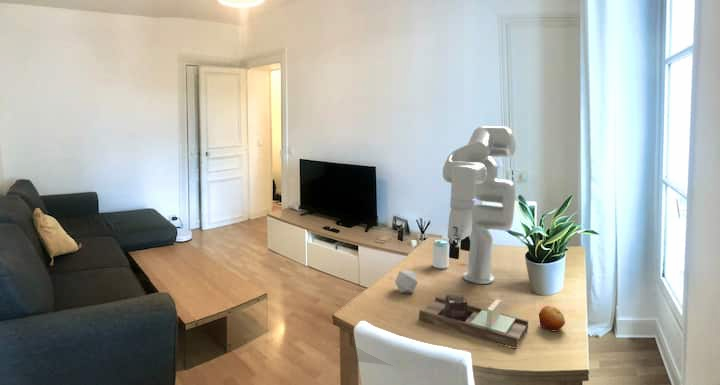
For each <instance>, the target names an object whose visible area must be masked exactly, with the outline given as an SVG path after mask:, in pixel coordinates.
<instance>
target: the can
mask: <svg viewBox="0 0 720 385" xmlns="http://www.w3.org/2000/svg"><path fill="white" fill-rule="evenodd" d="M432 246H433V248H432V250H433V251H432V266H433V267H434V268H436V269H437V270H438V269H440V270H443V269H447V268H448V267H449V265H450V264H449V261H450V258H449V240H446V239H442V238H440V239H436V240H434V243H433V245H432Z"/></svg>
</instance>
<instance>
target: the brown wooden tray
mask: <svg viewBox="0 0 720 385" xmlns="http://www.w3.org/2000/svg"><path fill="white" fill-rule="evenodd" d="M445 303H446V298H443V297H440V296H435V300H433V301H432V302H431V303H430V304H429V305H427V306H426V307H425V308H424V309H420V310H419V314H418V321H420V322H424V323H428V324H430V325H434V326H437V327H439V328H444V329H447V330H450V331H454V332H457V333H461V334H464V335H467V336H471V337H475V338H478V339H481V340H484V341H487V342H490V341H491V343H494V342H495V344H497V343H499V344H498V345H500V344H503V345H502V346H504V345H507V346H511V347H515V348H516V347H517V345H518V344H519V345H520V343H521V342H520V341H522V340H523V338H524V337H523V336H525V335H526V333H527V332H526V331H528V330H527V329H528V328H529V320H527V319H524V318H520V317H516V316H512V315H508V314H504V313H501V312H500V315H504V316H508V317H511V318H515V322H514V323H513V325H512V326H511V328H510V329H509V331H508V332H507V333H506V334H505V333H501V332H498V331H494V330H491V329H487V328H484V327H480V326H477V325H473V324H470V323H471V322H472V321H473V319H474V318H475V317H476V316H477V315H478V314H479V313H480V312H481V311H482V310H485V311H487V309H485V308H481V307H478V306H473V305H470V304H467V320H466V321H465V322H462V321H459V320H455V319H452V318H448V317H446V316H445ZM524 334H525V335H524ZM521 339H522V340H521ZM519 342H520V343H519ZM519 345H518V346H519ZM507 346H506V347H507ZM517 348H518V347H517ZM517 348H516V349H517Z"/></svg>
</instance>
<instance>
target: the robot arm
mask: <svg viewBox="0 0 720 385" xmlns="http://www.w3.org/2000/svg"><path fill="white" fill-rule="evenodd" d="M516 148H517V142H516V139H515V135H514V133H513V131H512V130H511V129H510V128H509V127H507V126H492V125H491V126H489V125H488V126H487V125H485V126H482V125H481V126H479V127H477V128H475V129H474V130H473V132H472V134H471V136H470V138H469V141H468V142H467V144H466V145H462V146H461V147H459V148H457V149H454V150H453V151H452V152H451V153H450V154H449V155H448V156H447V158H446V159H445V163H444V165H443V168H442V177H443V179H444V181H445V182H446V183H449V184H451V185H450V203H449V205H450V206H449V208H450V212H449V218H448V223H447V224H448V227H447V238H448V244H449V259H454V260H459V259H460V250H461V251H466V252H468V253H467V255H468V256H467V271H465V272H464V273H463V276H462V278H463V279H464V280H465V281H467V282H470V283H473V284H479V285H486V284H491V283H493V282H494V281H495V276H494V274H492V261H493V260H492V258H493V244H494V243H493V242H494V238H493V236H492V234H491V232H490V231H489V230H494V231H502V232H503V231H504V232H505V231H506V232H507V231H510V230H511V229H512V227H513V224H514V223H513V222H514V215H515V214H514V213H515V203H516V202H515V201H516V185H515V182H513V181H512V180H507V179H498V174H499V173H498V172H499V166H498V164H497V162H496V160H495V159H494V158H493V157H495V158H496V157H497V158H511V157H512V156H513V155H514V154H515V153H516V152H515V151H516ZM475 200H478V201H479V202H485V203H493V204H495V203H496V204H501V205H502V206H499V205H498V206H497V205H490V204H488V205H487V204H475Z"/></svg>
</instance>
